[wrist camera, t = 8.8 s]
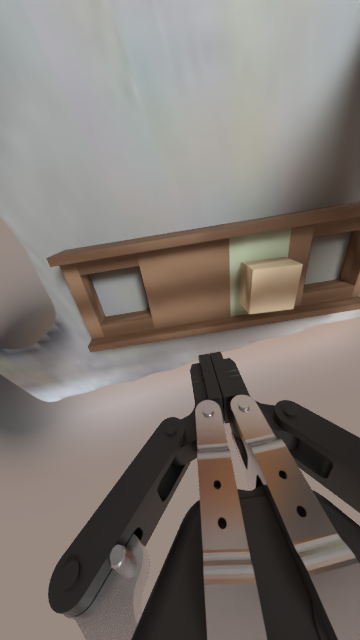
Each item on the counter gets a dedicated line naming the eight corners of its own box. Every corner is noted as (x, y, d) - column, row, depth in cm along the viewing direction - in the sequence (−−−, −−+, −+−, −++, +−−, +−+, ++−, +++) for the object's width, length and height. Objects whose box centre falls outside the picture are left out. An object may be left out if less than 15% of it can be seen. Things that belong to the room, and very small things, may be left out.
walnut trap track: (64, 250, 28) (46, 258, 23) (367, 200, 27) (406, 199, 23) (99, 333, 35) (90, 351, 30) (341, 294, 34) (367, 307, 30)
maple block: (241, 261, 27) (253, 269, 24) (285, 256, 27) (302, 264, 24) (239, 301, 30) (249, 314, 27) (278, 297, 30) (293, 309, 27)
